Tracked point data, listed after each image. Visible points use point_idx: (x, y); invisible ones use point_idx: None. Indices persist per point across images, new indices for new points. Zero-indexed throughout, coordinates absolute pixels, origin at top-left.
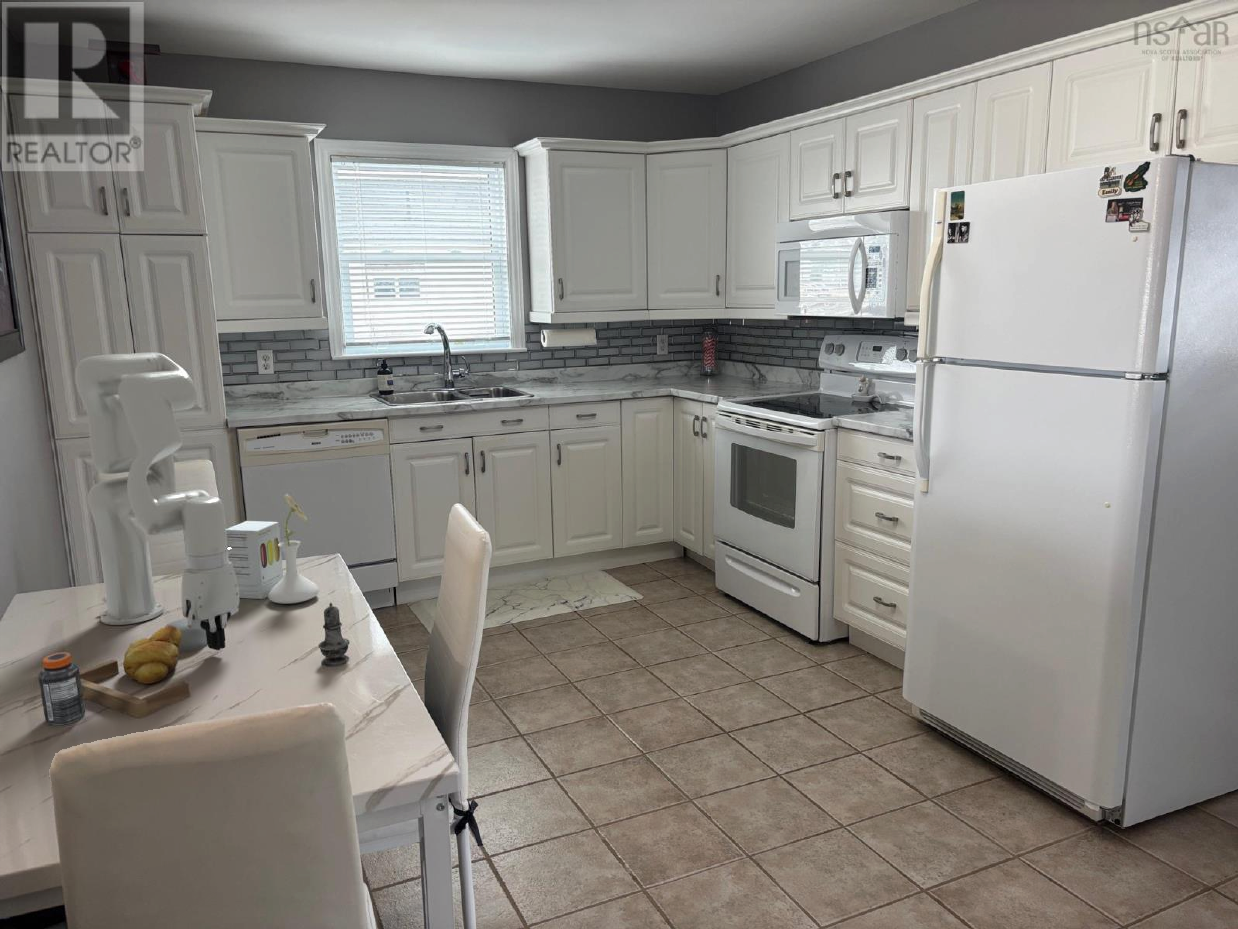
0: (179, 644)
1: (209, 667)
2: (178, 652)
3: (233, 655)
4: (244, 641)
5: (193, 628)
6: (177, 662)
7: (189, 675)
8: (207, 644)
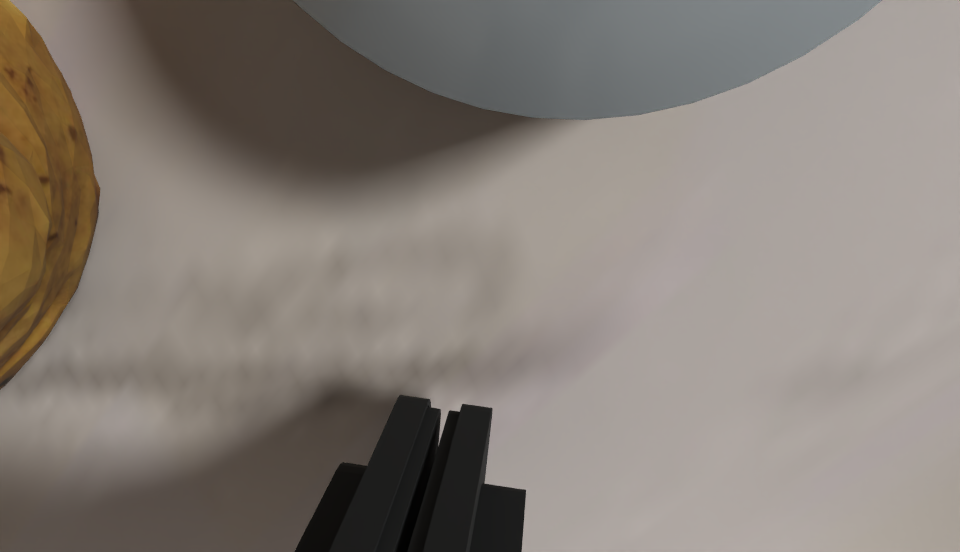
0: (20, 309)
1: (246, 530)
2: (5, 356)
3: None
4: (859, 405)
5: (458, 54)
6: (14, 374)
7: (73, 498)
8: (342, 464)
